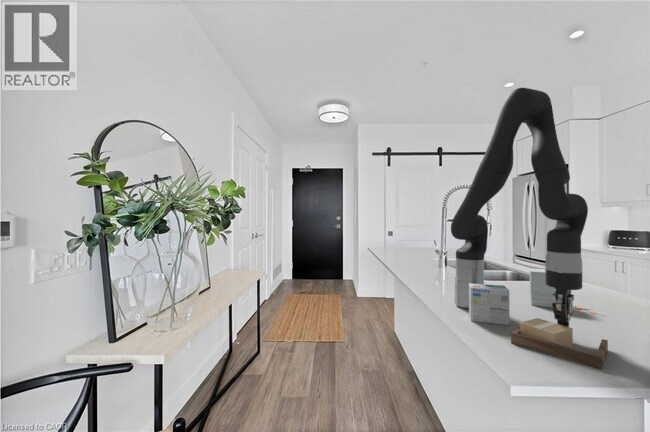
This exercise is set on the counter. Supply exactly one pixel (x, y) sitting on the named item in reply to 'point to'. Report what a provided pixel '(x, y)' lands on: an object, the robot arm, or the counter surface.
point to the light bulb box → (489, 303)
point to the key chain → (586, 310)
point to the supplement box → (540, 289)
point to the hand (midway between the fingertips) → (563, 334)
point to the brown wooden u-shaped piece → (562, 350)
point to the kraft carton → (547, 332)
